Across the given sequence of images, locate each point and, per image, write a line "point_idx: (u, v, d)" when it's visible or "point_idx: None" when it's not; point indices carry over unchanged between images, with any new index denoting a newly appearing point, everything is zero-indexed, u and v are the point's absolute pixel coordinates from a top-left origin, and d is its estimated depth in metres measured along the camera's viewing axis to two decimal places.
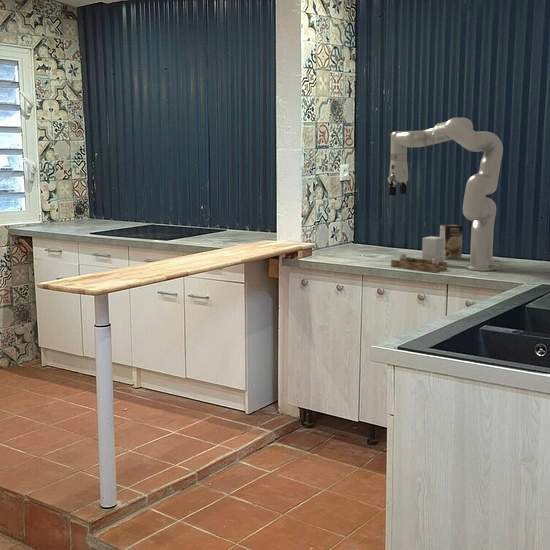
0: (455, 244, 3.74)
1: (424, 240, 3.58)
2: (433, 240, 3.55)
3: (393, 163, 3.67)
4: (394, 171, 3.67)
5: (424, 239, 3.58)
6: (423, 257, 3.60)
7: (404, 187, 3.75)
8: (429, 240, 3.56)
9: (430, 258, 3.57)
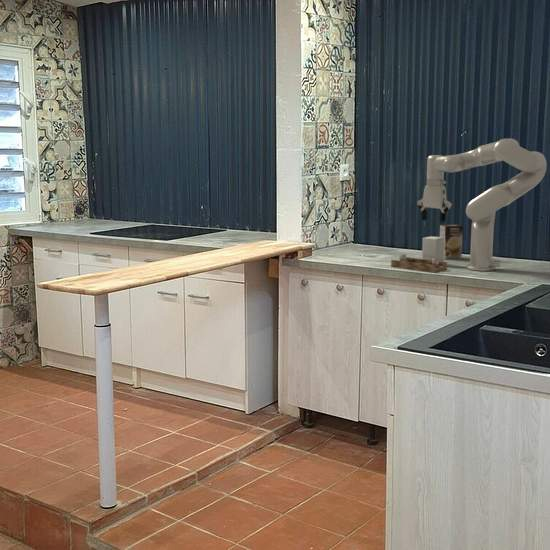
0: (455, 244, 3.74)
1: (424, 240, 3.58)
2: (433, 240, 3.55)
3: (443, 188, 3.52)
4: (445, 196, 3.53)
5: (424, 239, 3.58)
6: (423, 257, 3.60)
7: (426, 213, 3.61)
8: (429, 240, 3.56)
9: (430, 258, 3.57)
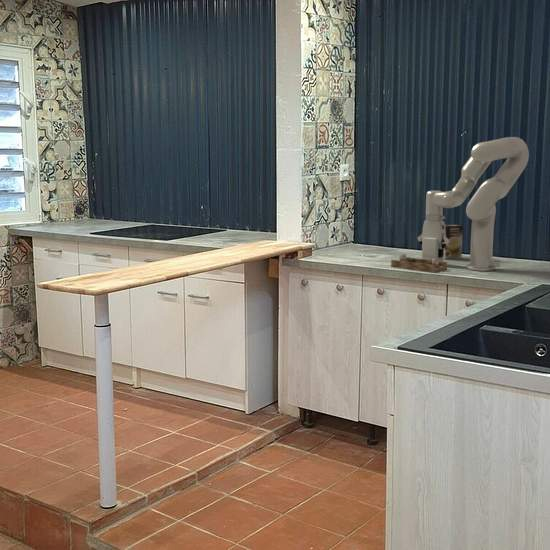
0: (455, 244, 3.74)
1: (424, 240, 3.58)
2: (433, 240, 3.55)
3: (442, 223, 3.55)
4: (444, 231, 3.56)
5: (424, 239, 3.58)
6: (423, 257, 3.60)
7: None
8: (429, 240, 3.56)
9: (430, 258, 3.57)
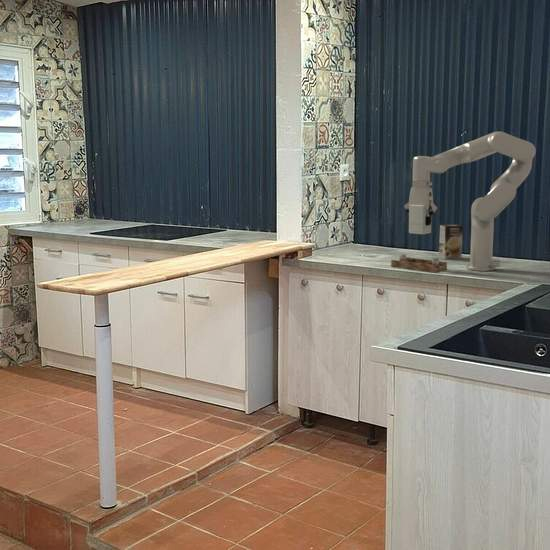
0: (455, 244, 3.74)
1: (411, 207, 3.47)
2: (420, 207, 3.43)
3: (430, 190, 3.43)
4: (431, 198, 3.44)
5: (411, 206, 3.47)
6: (410, 225, 3.48)
7: None
8: (416, 207, 3.45)
9: (417, 226, 3.46)
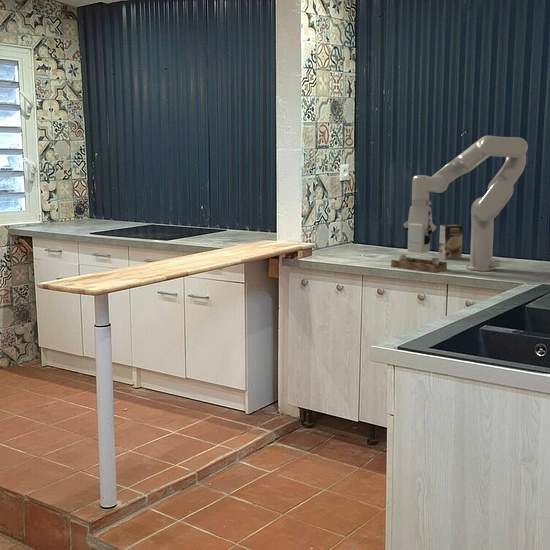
0: (455, 244, 3.74)
1: (410, 226, 3.48)
2: (419, 226, 3.45)
3: (429, 209, 3.45)
4: (430, 217, 3.46)
5: (410, 225, 3.48)
6: (409, 244, 3.50)
7: None
8: (415, 226, 3.46)
9: (416, 245, 3.47)
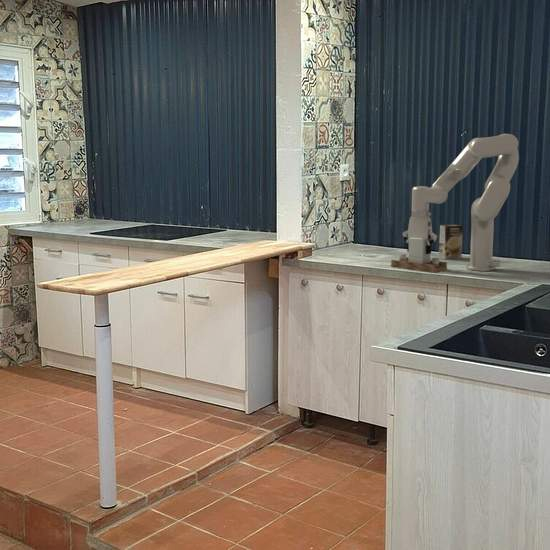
0: (455, 244, 3.74)
1: (410, 240, 3.49)
2: (419, 240, 3.46)
3: (428, 220, 3.45)
4: (430, 228, 3.46)
5: (410, 239, 3.49)
6: (409, 258, 3.51)
7: None
8: (415, 240, 3.47)
9: (416, 259, 3.48)
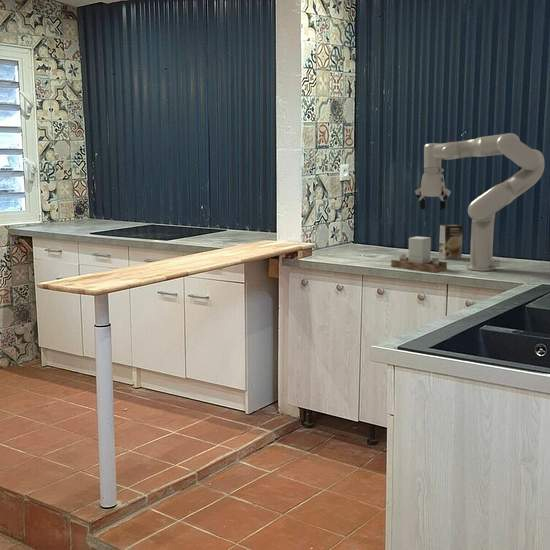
0: (455, 244, 3.74)
1: (410, 240, 3.49)
2: (419, 240, 3.46)
3: (441, 176, 3.49)
4: (443, 184, 3.50)
5: (410, 239, 3.49)
6: (409, 258, 3.51)
7: (424, 202, 3.57)
8: (415, 240, 3.47)
9: (416, 259, 3.48)
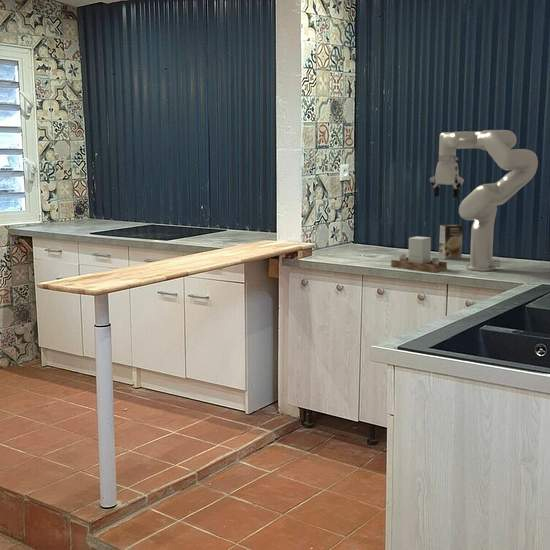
0: (455, 244, 3.74)
1: (410, 240, 3.49)
2: (419, 240, 3.46)
3: (456, 165, 3.57)
4: (457, 173, 3.58)
5: (410, 239, 3.49)
6: (409, 258, 3.51)
7: (438, 189, 3.66)
8: (415, 240, 3.47)
9: (416, 259, 3.48)
